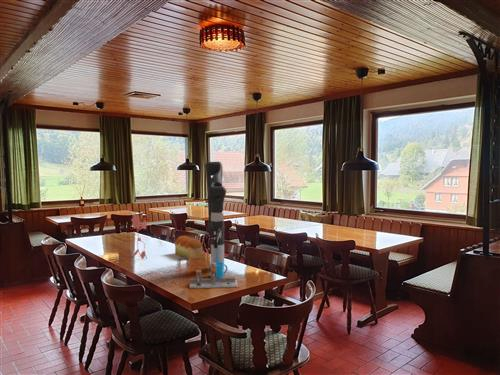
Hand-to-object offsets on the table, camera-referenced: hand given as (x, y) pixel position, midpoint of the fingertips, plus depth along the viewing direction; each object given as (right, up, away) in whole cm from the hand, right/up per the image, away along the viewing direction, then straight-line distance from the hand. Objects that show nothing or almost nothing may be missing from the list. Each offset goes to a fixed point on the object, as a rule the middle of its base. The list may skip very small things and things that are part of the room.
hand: (217, 246), depth 227 cm
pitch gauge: (-2, -23, 0) cm, 23 cm away
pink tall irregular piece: (-68, -20, +66) cm, 97 cm away
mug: (0, -22, +20) cm, 30 cm away
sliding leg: (-2, -21, +1) cm, 21 cm away
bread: (-30, -20, +77) cm, 85 cm away
